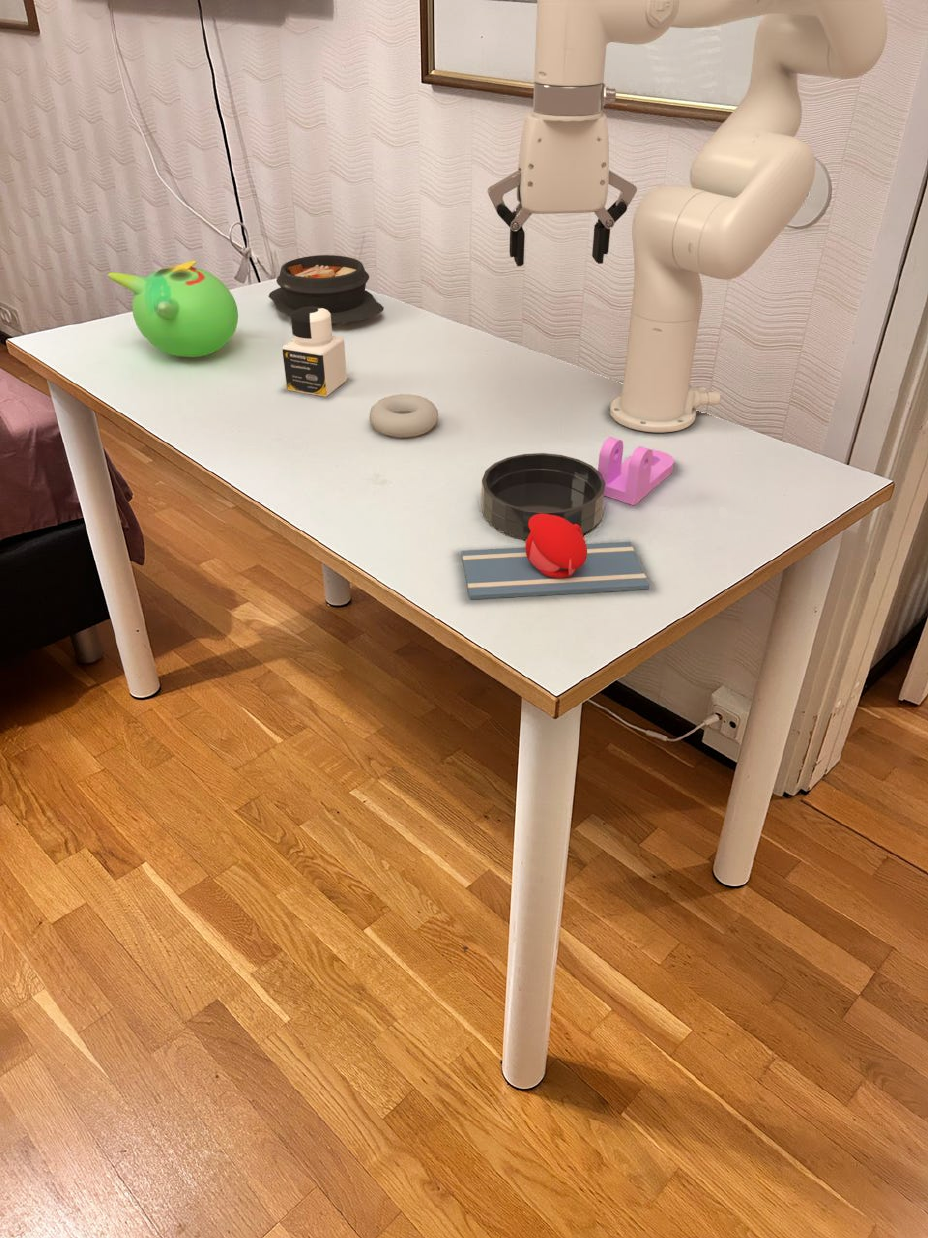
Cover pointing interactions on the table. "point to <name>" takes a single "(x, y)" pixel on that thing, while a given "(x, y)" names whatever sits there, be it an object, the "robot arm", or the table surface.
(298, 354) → the medicine bottle
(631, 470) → the bracket
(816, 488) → the table surface
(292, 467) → the table surface
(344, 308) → the casserole
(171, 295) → the toy bird
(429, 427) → the donut
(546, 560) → the red rounded lobed piece
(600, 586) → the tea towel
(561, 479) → the bowl
